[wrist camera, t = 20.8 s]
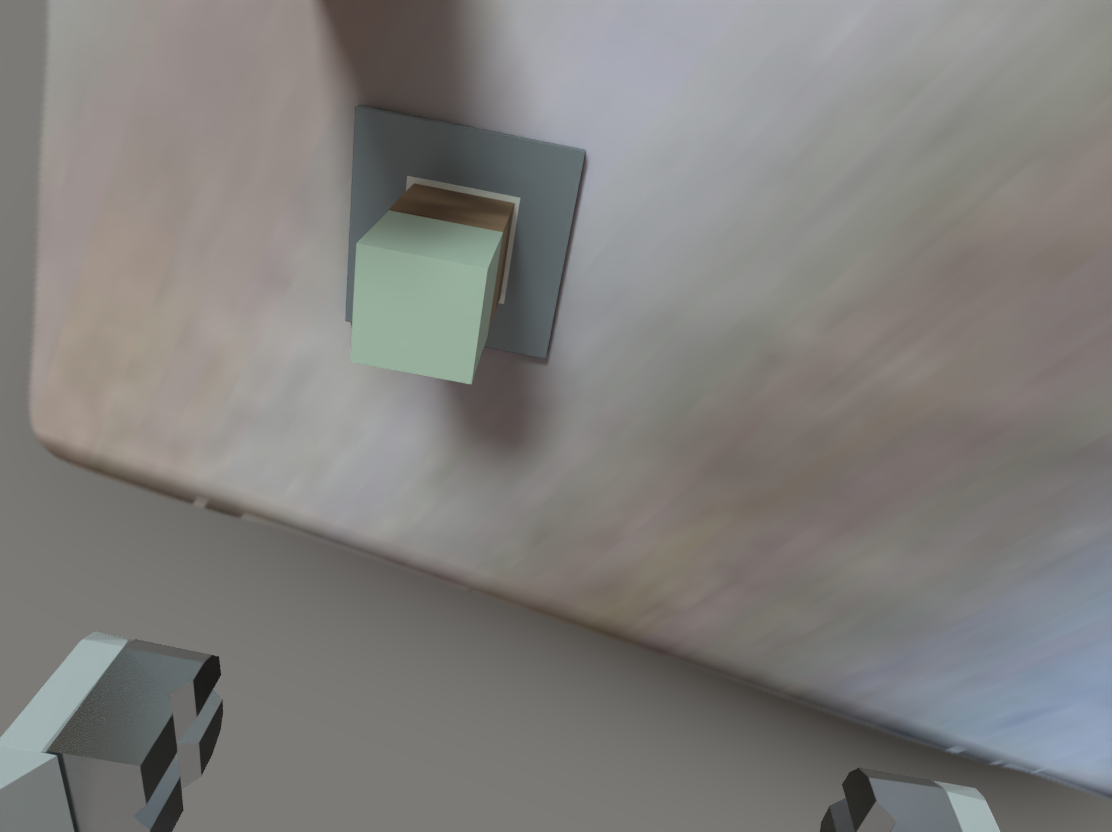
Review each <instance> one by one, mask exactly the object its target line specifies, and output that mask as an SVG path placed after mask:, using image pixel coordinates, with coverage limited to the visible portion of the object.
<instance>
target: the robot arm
mask: <svg viewBox="0 0 1112 832" xmlns="http://www.w3.org/2000/svg"><path fill="white" fill-rule="evenodd" d="M220 676H221V669H220V661H219V656H214V655H210V654H205V653H200V652H195V651H190V650H185V649H181V648H176V647H171V646H166V645H161V644H156V643H151V642H146V641H142V640H137V639H131V638H125V637H121V636H115V635H110V634H105V633H99V632H94V633H92V634H90V635H89V636H88V637H86V638H84V639H83V640H81V641H80V642H79V643H78V645H77V646H76V647H75V648H74V649H73V651H72V652H71V653H70V654H69V655H68V657H67V658H66V659H65V660H64V661H63V663H62V664H61V665H60V666H59V668H58V669H57V670H56V671H55V672H54V674H53V675H52V676H51V677H50V678H49V680H48V681H47V682H46V683H45V684H44V686H43V687H42V688H41V689H40V691H39V692H38V693H37V694H36V695H35V697H34V698H33V699H32V700H31V701H30V703H29V704H28V705H27V706H26V707H25V709H24V710H23V711H22V712H21V713H20V715H19V716H18V717H17V718H16V720H15V721H14V722H13V723H12V724H11V726H10V727H9V728H8V729H7V731H6V732H5V733H4V734H3V735H2V736H1V738H0V832H172V831H173V829H174V827H175V825H176V823H177V821H178V820H179V818H180V816H181V813H182V812H183V800H182V789H183V788H184V787H186V786H188V785H189V784H190V783H192V782H193V781H195V780H196V779H198V778H199V777H201V776H202V774H203V772H204V770H205V768H206V766H207V764H208V762H209V760H210V758H211V756H212V754H213V751H214V748H215V745H216V742H217V739H218V736H219V733H220V730H221V724H222V717H223V700H222V698H221V697H220V696H219V695H218V694H217V692H216V691H215V690H214V689H213V688H214V687H215V685H216V683H217V681H218V679H219V678H220ZM842 786H843V790H844V793H845V797H846V798H844V799H842V800H840V801H838V802H836V803H834V804H832V805H830V806H829V808H828V810H827V812H826V814H825V816H824V818H823V820H822V822H821V828H820V832H1000V830H999V828H998V826H997V824H996V822H995V819H994V817H993V815H992V813H991V811H990V809H989V807H988V805H987V803H986V801H985V798H984V797H983V796H982V795H981V794H980V793H979V792H978V791H977V789H976V788H971V787H965V786H960V785H954V784H948V783H943V782H936V781H932V780H930V779H925V778H919V777H912V776H906V775H900V774H893V773H888V772H881V771H875V770H869V769H863V768H857V769H855V770H853V771H851V772H849V774H848V775H847V777H846V779H845V780H844V782H843V784H842Z"/></svg>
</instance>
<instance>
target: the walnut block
mask: <svg viewBox="0 0 1112 832" xmlns="http://www.w3.org/2000/svg"><path fill="white" fill-rule="evenodd" d="M514 205H515V203H512V202H507V201H502V200H497V199H492V198H487V197H482V196H477V195H471V194H466V193H461V192H456V191H451V190H446V189H441V188H436V187H430V186H425V185H420V184H415V183H414V184H413V185H412V186H411V187H410V188H409V189H408V190H407V191H406V192H405V193H404V194H403V195H402V196H401V197H400V198H399V199H398V200H397V201H396V202H395V203H394V204H393V205H392V206H391V207H390V208H389V210H390V211H396V212H401V213H406V214H411V215H416V216H422V217H427V218H432V219H437V220H442V221H447V222H453V223H458V224H463V225H468V226H473V227H478V228H484V229H489V230H494V231H499V232H503V235H502V242H501V249H500V255H499V262H498V269H497V276H496V283H495V289H494V296H493V303H492V310H491V316H490V323H489V330H490V327H491V324H492V321H493V318H494V315H495V312H496V309H497V306H498V303H499V300H500V296H501V290H502V283H503V277H504V270H505V264H506V257H507V250H508V244H509V237H510V231H511V224H512V218H513V211H514ZM489 330H488V333H489Z"/></svg>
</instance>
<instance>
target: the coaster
mask: <svg viewBox="0 0 1112 832" xmlns="http://www.w3.org/2000/svg"><path fill="white" fill-rule="evenodd" d="M584 156H585V150H584V149H579V148H574V147H569V146H564V145H558V144H553V143H548V142H543V141H538V140H533V139H528V138H523V137H518V136H513V135H508V134H503V133H498V132H493V131H488V130H483V129H478V128H473V127H468V126H463V125H458V124H453V123H448V122H443V121H438V120H433V119H428V118H423V117H417V116H412V115H407V114H402V113H397V112H392V111H387V110H382V109H377V108H372V107H367V106H362V105H358V106H355V126H354V148H353V169H352V190H351V212H350V233H349V254H348V276H347V297H346V318H345V321H348V322H352V318H353V298H354V279H355V260H356V243H357V242H358V241H359V240H360V239H361V238H362V237H363V236H364V235H365V234H366V233H367V232H368V231H369V230H370V229H371V228H372V227H373V226H374V225H375V224H376V223H377V222H378V221H379V220H380V219H381V218H382V217H383V216H384V215H385V214H386V213H387V212H388V211H389V208H390V207H391V206H392V205H393V204H394V203H395V202H396V201H397V200H398V199H399V198H400V197H401V196H402V195H403V194H404V193H405V192H406V191H407V190H408V189H409V188H410V187H411V186H412V185H413V184H414V183H415V184H420V185H425V186H430V187H436V188H441V189H446V190H451V191H456V192H461V193H466V194H471V195H477V196H482V197H487V198H492V199H497V200H502V201H507V202H512V203H515V205H514V211H513V218H512V224H511V231H510V237H509V244H508V250H507V257H506V264H505V270H504V277H503V283H502V290H501V296H500V300H499V303H498V306H497V309H496V312H495V315H494V318H493V321H492V324H491V327H490V330H489V333H488V337H487V340H486V343H485V346H484V347H487V348H492V349H497V350H503V351H508V352H513V353H519V354H524V355H529V356H535V357H540V358H546V354H547V349H548V344H549V339H550V333H551V328H552V323H553V318H554V313H555V307H556V302H557V297H558V292H559V286H560V281H561V276H562V271H563V266H564V260H565V255H566V250H567V245H568V239H569V234H570V229H571V224H572V218H573V213H574V208H575V203H576V198H577V192H578V187H579V182H580V177H581V171H582V166H583V161H584Z"/></svg>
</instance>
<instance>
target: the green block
mask: <svg viewBox="0 0 1112 832" xmlns="http://www.w3.org/2000/svg"><path fill="white" fill-rule="evenodd" d="M502 235H503V232H499V231H494V230H489V229H484V228H478V227H473V226H468V225H463V224H458V223H453V222H447V221H442V220H437V219H432V218H427V217H422V216H416V215H411V214H406V213H401V212H396V211H390V210H389V211H388V212H387V213H386V214H385V215H384V216H383V217H382V218H381V219H380V220H379V221H378V222H377V223H376V224H375V225H374V226H373V227H372V228H371V229H370V230H369V231H368V232H367V233H366V234H365V235H364V236H363V237H362V238H361V239H360V240H359V241H358V242H357V243H356V260H355V279H354V298H353V318H352V337H351V356H350V362H353V363H358V364H363V365H369V366H374V367H380V368H385V369H390V370H396V371H401V372H407V373H412V374H417V375H423V376H428V377H434V378H439V379H444V380H450V381H455V382H461V383H466V384H472V381H473V378H474V375H475V372H476V369H477V366H478V363H479V360H480V357H481V354H482V351H483V348H484V346H485V343H486V340H487V337H488V330H489V323H490V316H491V310H492V303H493V296H494V289H495V283H496V276H497V269H498V262H499V255H500V249H501V242H502Z"/></svg>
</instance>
